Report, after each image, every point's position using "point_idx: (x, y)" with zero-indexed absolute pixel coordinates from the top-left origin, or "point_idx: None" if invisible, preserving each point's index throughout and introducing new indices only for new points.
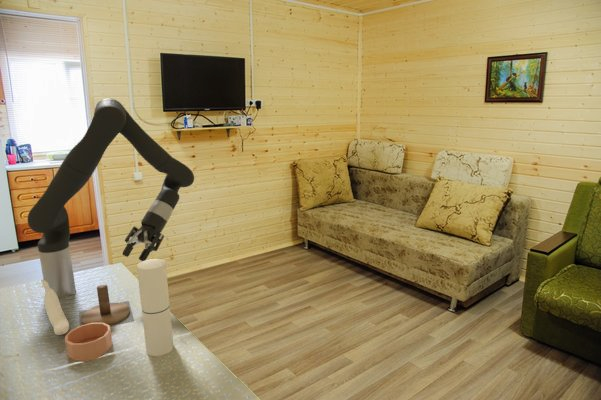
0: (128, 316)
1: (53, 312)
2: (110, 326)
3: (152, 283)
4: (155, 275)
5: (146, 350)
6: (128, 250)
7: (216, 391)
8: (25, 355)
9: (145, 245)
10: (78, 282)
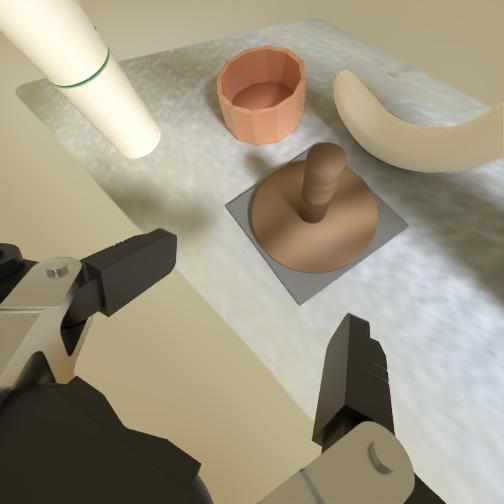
0: (250, 221)
1: (432, 128)
2: None
3: None
4: None
5: (155, 121)
6: (333, 368)
7: (44, 82)
8: (375, 76)
9: (62, 287)
10: None
